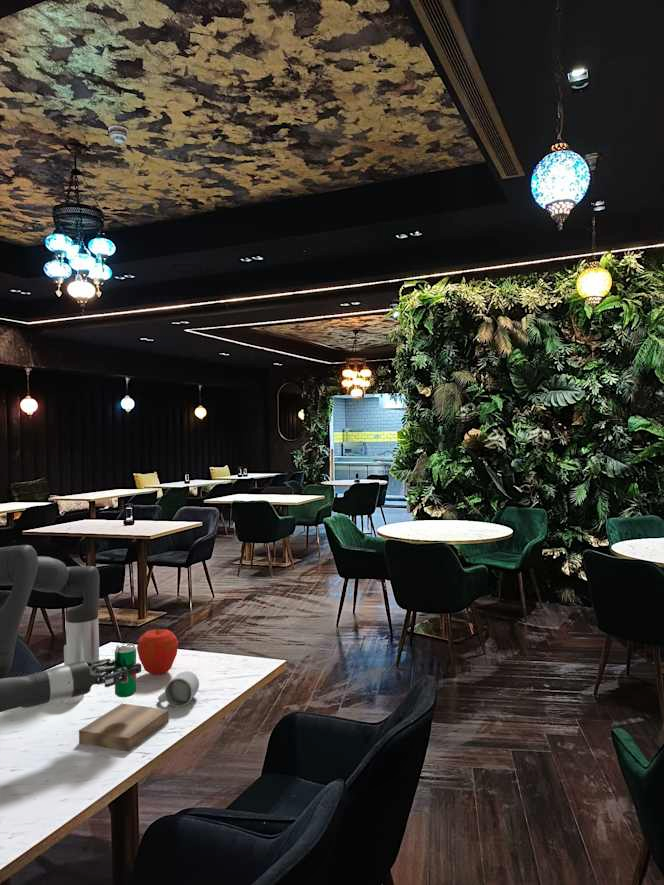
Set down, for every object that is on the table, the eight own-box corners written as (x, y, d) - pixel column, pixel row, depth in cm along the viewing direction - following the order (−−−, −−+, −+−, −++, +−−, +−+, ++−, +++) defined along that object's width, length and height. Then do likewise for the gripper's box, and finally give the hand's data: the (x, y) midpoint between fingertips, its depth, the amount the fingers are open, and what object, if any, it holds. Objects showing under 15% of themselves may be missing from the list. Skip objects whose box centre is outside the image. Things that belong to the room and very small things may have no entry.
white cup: (76, 704, 171) (76, 679, 171) (54, 703, 173) (53, 677, 173) (91, 694, 178) (90, 670, 178) (69, 693, 179) (69, 668, 179)
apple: (129, 675, 193) (128, 629, 193) (163, 664, 202) (162, 620, 202) (153, 684, 185) (151, 636, 185) (186, 672, 194) (185, 626, 194)
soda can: (110, 695, 155) (110, 647, 155) (125, 689, 160) (125, 641, 160) (125, 699, 153) (125, 650, 153) (140, 692, 157) (140, 644, 157)
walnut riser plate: (79, 743, 149) (78, 730, 149) (122, 714, 164) (121, 703, 164) (129, 751, 144) (128, 738, 144) (168, 721, 160) (168, 709, 160)
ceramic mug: (201, 695, 176) (200, 667, 176) (192, 707, 168) (191, 678, 168) (163, 695, 177) (162, 668, 177) (153, 708, 169) (152, 679, 169)
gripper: (76, 673, 142) (148, 656, 153) (55, 658, 152) (124, 643, 164) (77, 707, 142) (148, 687, 153) (56, 689, 152) (124, 672, 164)
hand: (135, 664), depth 158 cm, fingers closed on soda can, 5 cm apart
